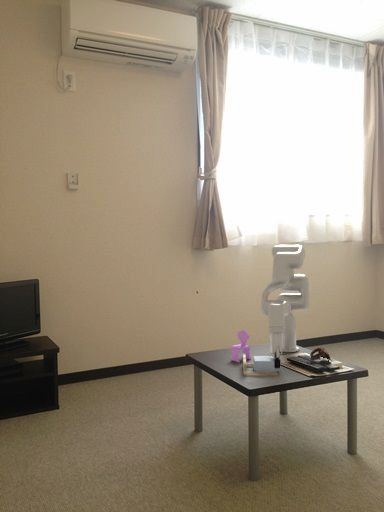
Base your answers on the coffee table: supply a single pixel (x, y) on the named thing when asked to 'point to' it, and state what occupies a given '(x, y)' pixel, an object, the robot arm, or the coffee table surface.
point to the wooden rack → (255, 372)
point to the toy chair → (241, 346)
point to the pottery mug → (319, 354)
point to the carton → (263, 364)
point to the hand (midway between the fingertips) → (276, 367)
